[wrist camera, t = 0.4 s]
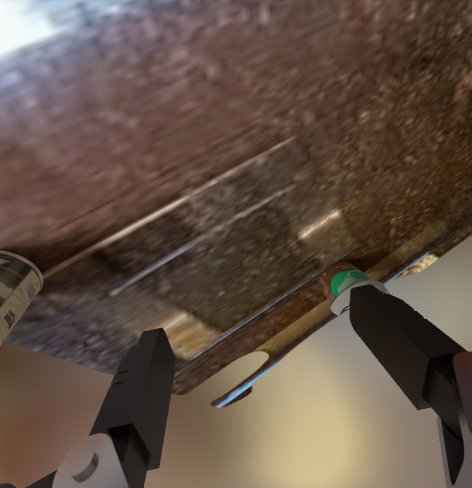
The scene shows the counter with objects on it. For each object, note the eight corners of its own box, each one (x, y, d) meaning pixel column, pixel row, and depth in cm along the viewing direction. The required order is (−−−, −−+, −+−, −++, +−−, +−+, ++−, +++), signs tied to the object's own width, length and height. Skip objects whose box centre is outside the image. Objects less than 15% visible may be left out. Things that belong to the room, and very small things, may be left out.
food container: (366, 252, 51) (402, 282, 43) (359, 274, 55) (391, 305, 47) (315, 261, 49) (343, 294, 41) (311, 282, 53) (335, 316, 44)
